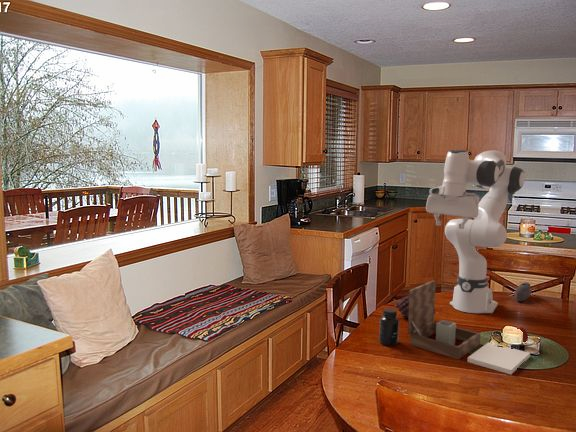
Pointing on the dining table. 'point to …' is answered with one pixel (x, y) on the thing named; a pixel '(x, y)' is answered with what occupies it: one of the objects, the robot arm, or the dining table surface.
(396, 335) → the supplement bottle
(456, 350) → the walnut box
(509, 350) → the cutting board
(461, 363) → the dining table surface
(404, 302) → the pine cone
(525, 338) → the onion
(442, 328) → the block
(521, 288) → the perforated stone tool
